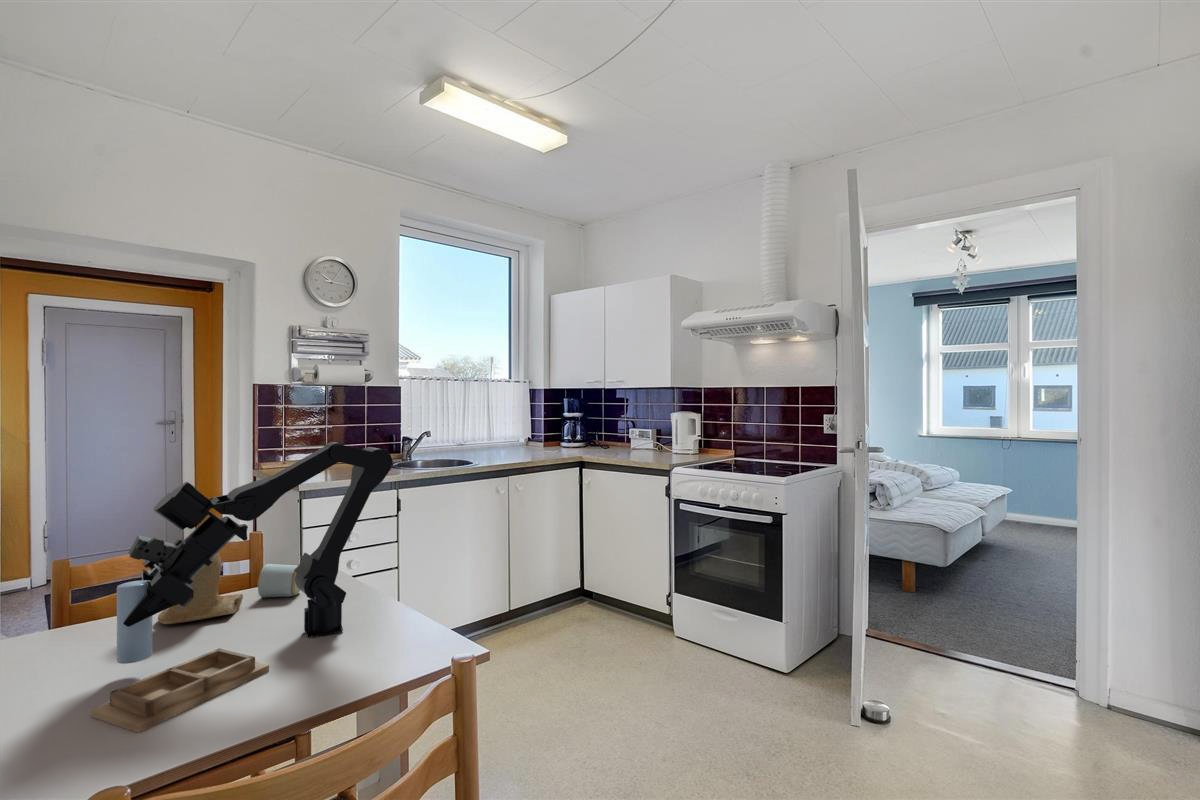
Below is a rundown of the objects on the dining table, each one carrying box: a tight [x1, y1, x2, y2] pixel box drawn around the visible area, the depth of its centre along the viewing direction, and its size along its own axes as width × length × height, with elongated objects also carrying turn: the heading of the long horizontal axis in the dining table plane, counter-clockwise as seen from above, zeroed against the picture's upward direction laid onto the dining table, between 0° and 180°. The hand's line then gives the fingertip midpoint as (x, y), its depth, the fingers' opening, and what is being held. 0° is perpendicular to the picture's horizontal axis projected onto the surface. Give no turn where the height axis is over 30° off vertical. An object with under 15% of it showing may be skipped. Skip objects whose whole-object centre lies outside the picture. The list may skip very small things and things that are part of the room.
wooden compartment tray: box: [90, 648, 270, 733], centre depth 97 cm, size 21×11×3 cm, turn 158°
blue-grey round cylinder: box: [116, 579, 153, 665], centre depth 102 cm, size 5×5×12 cm
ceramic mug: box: [257, 563, 301, 598], centre depth 145 cm, size 11×8×8 cm
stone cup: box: [157, 552, 244, 625], centre depth 129 cm, size 15×12×15 cm
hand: (124, 620), depth 101 cm, fingers closed on blue-grey round cylinder, 5 cm apart
